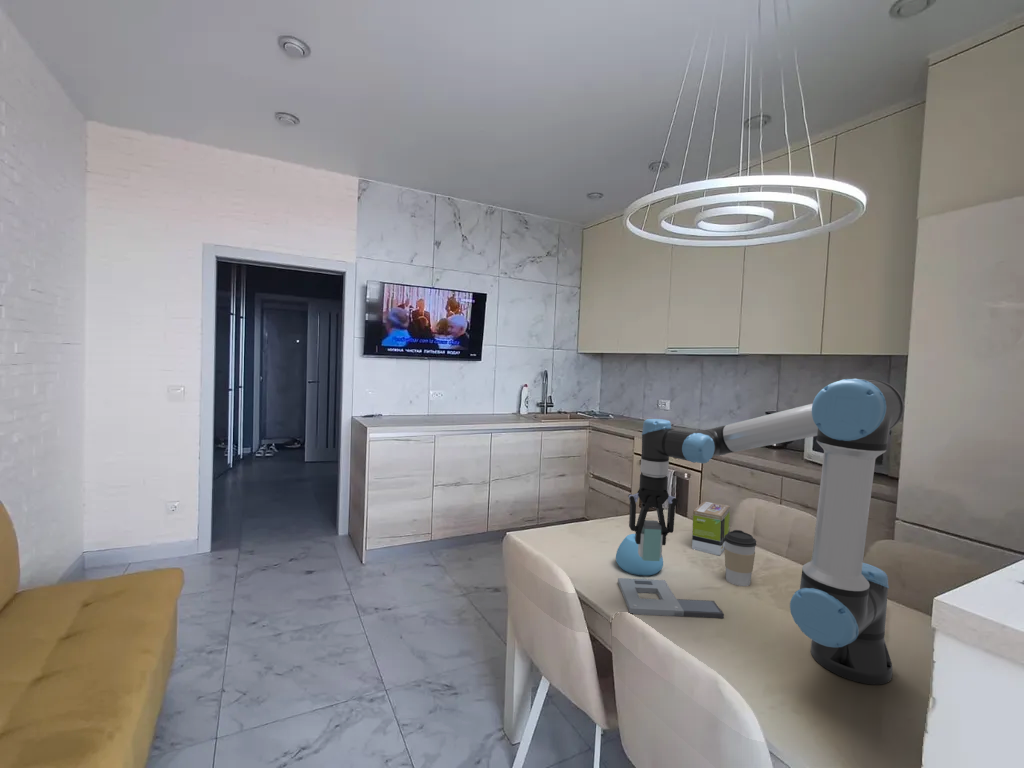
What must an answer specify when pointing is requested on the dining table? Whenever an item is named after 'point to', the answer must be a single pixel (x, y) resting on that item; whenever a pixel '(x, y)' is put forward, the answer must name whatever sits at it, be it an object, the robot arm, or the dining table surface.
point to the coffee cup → (739, 557)
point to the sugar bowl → (635, 559)
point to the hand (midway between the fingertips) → (649, 555)
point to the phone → (700, 608)
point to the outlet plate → (649, 606)
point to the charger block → (651, 540)
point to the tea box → (710, 527)
